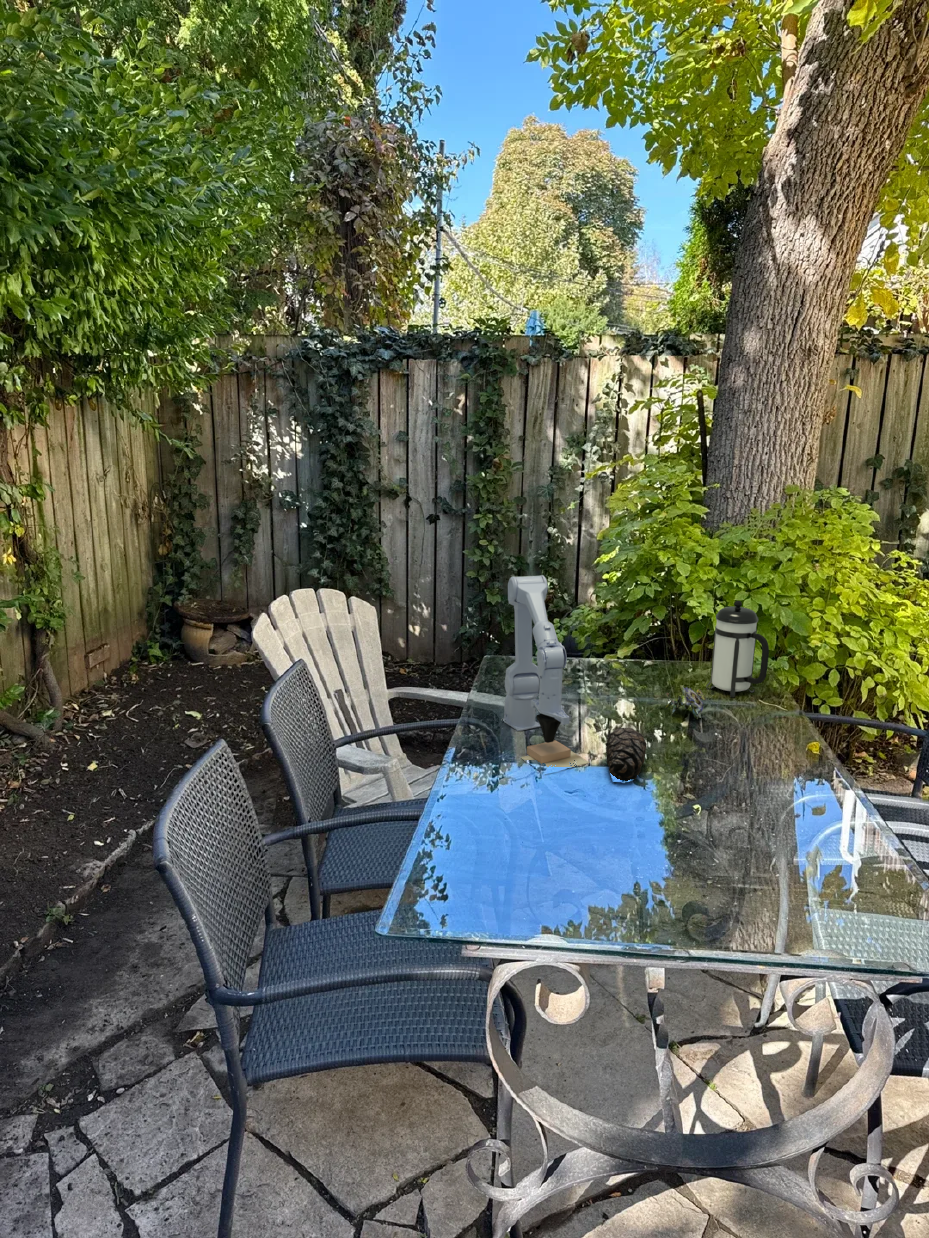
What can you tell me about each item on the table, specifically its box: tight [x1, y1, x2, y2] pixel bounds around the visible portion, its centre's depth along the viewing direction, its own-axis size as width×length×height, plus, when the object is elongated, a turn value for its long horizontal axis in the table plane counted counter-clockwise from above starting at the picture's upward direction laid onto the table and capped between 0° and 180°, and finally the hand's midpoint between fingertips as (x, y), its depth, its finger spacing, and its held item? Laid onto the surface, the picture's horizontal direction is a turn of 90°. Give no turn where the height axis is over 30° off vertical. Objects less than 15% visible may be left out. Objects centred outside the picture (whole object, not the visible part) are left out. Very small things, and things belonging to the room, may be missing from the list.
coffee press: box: [706, 600, 770, 699], centre depth 253 cm, size 17×16×30 cm
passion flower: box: [665, 684, 707, 720], centre depth 235 cm, size 11×11×12 cm
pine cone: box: [605, 727, 648, 781], centre depth 198 cm, size 10×18×10 cm, turn 172°
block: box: [526, 739, 572, 764], centre depth 207 cm, size 2×9×7 cm
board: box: [520, 750, 591, 768], centre depth 205 cm, size 11×14×1 cm
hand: (548, 741), depth 206 cm, fingers closed
